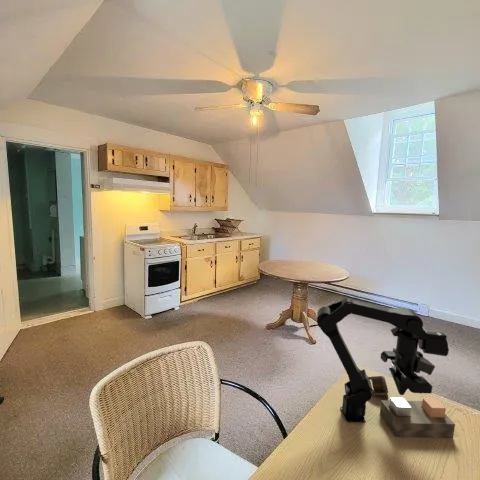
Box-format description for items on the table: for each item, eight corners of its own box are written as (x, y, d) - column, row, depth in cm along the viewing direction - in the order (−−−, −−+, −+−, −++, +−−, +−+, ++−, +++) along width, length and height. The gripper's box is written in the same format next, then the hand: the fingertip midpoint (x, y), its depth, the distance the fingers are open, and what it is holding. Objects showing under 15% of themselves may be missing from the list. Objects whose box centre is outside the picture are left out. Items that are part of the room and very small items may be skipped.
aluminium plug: (396, 420, 90) (397, 407, 89) (388, 410, 94) (390, 397, 94) (409, 420, 90) (411, 407, 89) (401, 410, 94) (403, 397, 94)
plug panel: (395, 437, 87) (397, 422, 87) (379, 413, 97) (381, 400, 97) (453, 438, 88) (455, 424, 87) (431, 414, 97) (433, 401, 97)
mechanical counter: (389, 394, 99) (393, 375, 107) (352, 377, 106) (358, 361, 114) (385, 408, 102) (390, 389, 110) (349, 391, 109) (356, 374, 117)
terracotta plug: (430, 421, 90) (431, 407, 89) (421, 411, 94) (422, 398, 94) (443, 421, 90) (445, 408, 89) (434, 411, 94) (436, 398, 94)
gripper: (454, 367, 80) (446, 416, 82) (413, 336, 98) (408, 377, 100) (415, 366, 80) (409, 415, 82) (382, 335, 98) (377, 376, 100)
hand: (401, 394), depth 91 cm, fingers closed
